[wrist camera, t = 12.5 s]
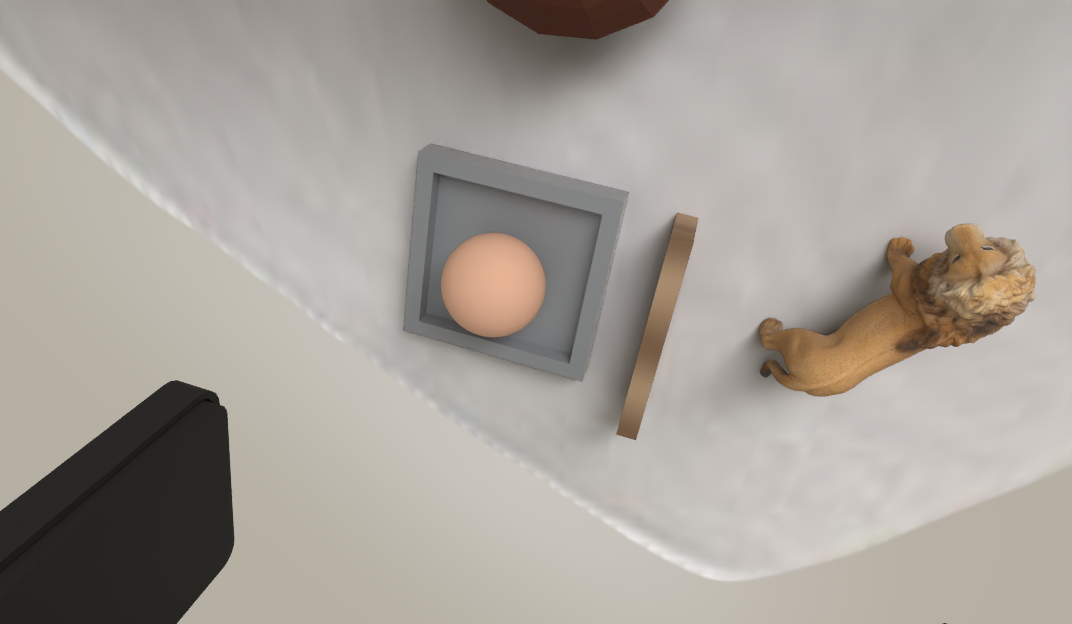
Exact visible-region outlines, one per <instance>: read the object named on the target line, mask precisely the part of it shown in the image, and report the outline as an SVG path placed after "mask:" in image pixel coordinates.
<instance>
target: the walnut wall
mask: <svg viewBox="0 0 1072 624" xmlns="http://www.w3.org/2000/svg"><path fill="white" fill-rule="evenodd" d="M697 222H698V218H696V217H692V216H688V215H684V214H680V213H677V215H676V219H675V223H674V226H673V230H672V233H671V237H670V240H669V244H668V248H667V251H666V255H665V259H664V262H663V266H662V270H661V273H660V277H659V281H658V284H657V288H656V292H655V295H654V299H653V302H652V306H651V310H650V313H649V317H648V321H647V324H646V328H645V332H644V335H643V339H642V343H641V346H640V350H639V354H638V357H637V361H636V365H635V368H634V372H633V375H632V379H631V383H630V386H629V390H628V394H627V397H626V401H625V405H624V408H623V412H622V416H621V419H620V423H619V427H618V430H617V435H620V436H623V437H627V438H630V439H634V440H636V438H637V434H638V431H639V427H640V424H641V421H642V417H643V414H644V410H645V407H646V404H647V400H648V397H649V393H650V390H651V386H652V383H653V380H654V376H655V373H656V369H657V366H658V362H659V359H660V356H661V352H662V349H663V345H664V342H665V338H666V335H667V332H668V328H669V325H670V321H671V318H672V314H673V311H674V308H675V304H676V301H677V297H678V294H679V291H680V287H681V284H682V280H683V277H684V273H685V270H686V267H687V263H688V260H689V256H690V253H691V249H692V246H693V242H694V237H695V232H696V227H697Z"/></svg>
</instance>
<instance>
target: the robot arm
mask: <svg viewBox="0 0 1072 624" xmlns="http://www.w3.org/2000/svg"><path fill="white" fill-rule="evenodd" d="M230 473H231V472H230V453H229V435H228V417H227V410H226V409H225V407H224V406H221V405H220V403H219V398H218V396H217V395H216V393H214V392H212V391H209V390H206V389H203V388H200V387H196V386H193V385H190V384H187V383H184V382H180V381H177V380H176V381H170V382H169V383H167V384H165V385H163V386H162V387H161V388H160V389H158V390H157V391H156V392H155V393H153V394H152V395H151V396H149V397H148V398H147V399H145V400H144V401H143V402H141V403H140V404H139V405H137V406H136V407H135V408H134V409H132V410H131V411H130V412H128V413H127V414H126V415H125V416H123V417H122V418H121V419H119V420H118V421H117V422H116V423H114V424H113V425H112V426H110V427H109V428H108V429H107V430H105V431H104V432H103V433H101V434H100V435H99V436H98V437H96V438H95V439H93V440H92V441H91V442H89V443H88V444H87V445H86V446H84V447H83V448H82V449H80V450H79V451H78V452H77V453H75V454H74V455H73V456H71V457H70V458H69V459H67V460H66V461H65V462H64V463H62V464H61V465H60V466H58V467H57V468H56V469H55V470H53V471H52V472H51V473H49V474H48V475H47V476H46V477H44V478H43V479H41V480H40V481H39V482H38V483H36V484H35V485H34V486H33V487H31V488H30V489H29V490H28V491H26V492H25V493H23V494H22V495H21V496H19V497H18V498H17V499H16V500H14V501H13V502H12V503H10V504H9V505H8V506H7V507H5V508H4V509H3V510H1V511H0V624H177V622H178V621H179V620H180V619H181V618H182V617H183V615H184V614H185V613H186V612H187V611H188V609H189V608H190V607H191V606H192V605H193V603H194V602H195V601H196V600H197V599H198V597H199V596H200V595H201V594H202V592H203V591H204V590H205V589H206V588H207V587H208V585H209V584H210V583H211V582H212V581H213V579H214V578H215V577H216V576H217V575H218V573H219V572H220V571H221V570H222V568H223V567H224V566H225V564H226V563H227V561H228V559H229V557H230V555H231V553H232V549H233V546H234V527H233V508H232V490H231V474H230ZM944 624H946V623H944Z"/></svg>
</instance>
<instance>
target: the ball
mask: <svg viewBox="0 0 1072 624" xmlns="http://www.w3.org/2000/svg"><path fill="white" fill-rule="evenodd" d="M545 290H546V280H545V273H544V270H543V267H542V264H541V262H540V260H539V259H538V257H537V255H536V254H535V253H534V251H533V250H532V249H531V248H530V247H529V246H528V245H526V244H525V243H524V242H522V241H521V240H519V239H517V238H515V237H513V236H510V235H507V234H502V233H484V234H479V235H477V236H474V237H471V238H469V239H468V240H466V241H464V242H463V243H462V244H460V245H459V246H458V247H457V248H456V249H455V250H454V251H453V252H452V254H451V255H450V257H449V258H448V260H447V262H446V264H445V266H444V269H443V273H442V279H441V291H442V297H443V301H444V304H445V306H446V308H447V310H448V312H449V313H450V315H451V316H452V317H453V319H454V320H455V321H456V322H457V323H458V324H459V325H460V326H462V327H463V328H464V329H466V330H468V331H470V332H472V333H474V334H477V335H480V336H484V337H503V336H507V335H511V334H513V333H515V332H518V331H519V330H521V329H523V328H524V327H525V326H527V325H528V324H529V323H530V322H531V321H532V320H533V319H534V318H535V316H536V315H537V313H538V312H539V310H540V308H541V306H542V303H543V301H544V297H545Z"/></svg>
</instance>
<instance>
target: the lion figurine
mask: <svg viewBox="0 0 1072 624" xmlns="http://www.w3.org/2000/svg"><path fill="white" fill-rule="evenodd" d="M945 242H946V244H947V246H948V249H947V250H946V251H944V252H942V253H935V254H933V255H932V257H930V258H928V259H926V260H924V261H922V262H921V263H920V264H917V263H916V262H914V261H913V260H912V259H910V258H909V257H910V256H911V255H912V253H913V252H914V247H913V245H912V241H911V240H910V239H906V238H903V237H900V238H893V239H892V240H891V242H890V244H889V247H888V252H887V258H888V260H889V265H890V267H891V268H892V282H891V285H890V288H891V290H892V293H891V294H889V295H887V296H885V297H883V298H881V299H879V300H877V301H875V302H873V303H871V304H869V305H868V306H866V307H865V308H863V309H862V310H860V311H859V312H857V313H856V314H855V315H853V316H852V317H851V318H849V319H848V320H847V321H846V322H845V323H844V324H843V325H842V326H841V327H840V328H839V329H838V330H837V331H836V332H834V333H832V334H831V335H821V334H818V333H816V332H813V331H810V330H806V329H799V328H792V329H787V330H783V331H782V322H781V321H778V320H777V319H775V318H768V319H766V320H764V321H763V322H762V324H761V326H760V330H759V334H760V339H761V342H762V345H763V347H764V348H765V349H766V350H771V349H774V350H777V351H779V352H781V354H782V355H783V357H784V360H785V364H786V366H787V368H788V370H789V371H790V373H789V374H788V373H787V372H786V371H785V370H784V369H783V368H782V367H781V366H780V365H779V363H778V362H777V361H775V360H769V361H768V362H766V363H764V364H763V366H762V368H761V371H760V373H761V375H762V376H763V377H765V378H766V377H768V376H769V375H770V374H771V373H772V374H773V376H774V377H775V379H776V380H777V381H778V382H779V383H780V384H782V385H783V386H785V387H787V388H789V389H792V390H796V391H805V392H806V393H808V394H810V395H813V396H830V395H836V394H841V393H844V392H846V391H848V390H850V389H852V388H853V387H855V386H856V385H857V384H859V383H860V382H861V381H863V380H864V379H866V378H867V377H869V376H871V375H873V374H874V373H876V372H879V371H881V370H883V369H885V368H887V367H889V366H891V365H894V364H896V363H898V362H900V361H902V360H904V359H907V358H909V357H911V356H913V355H915V354H917V353H918V352H921V351H923V350H925V349H932V348H935V347H937V346H942V347H948V346H950V345H952V346H954V347H958V346H960V345H961V344H964V343H974V342H975V341H977V340H978V339H980V338H982V337H985V336H987V335H990V334H993V333H995V332H997V331H998V330H1000V329H1001V328H1002V327H1003V326H1007V325H1009V324H1011V323H1012V322H1013V321H1014V318H1015V316H1017V315H1020V314H1021V313H1023V312H1024V311H1025V309H1026V306H1027V305H1028V303H1029V302H1030V301H1033V300H1034V299H1035V294H1034V292H1033V290H1034V288H1035V276H1034V273H1035V268H1034V267H1033V266H1031V265H1030V264H1029V263H1028V262H1027V261H1026V259H1025V253H1024V250H1023V249H1022V248H1021V247H1020V245H1019V243H1018V242H1017V241H1016V240H1011V239H1006V238H993V237H988V238H985V237H984V235H983V232H982V230H981V228H980V227H979V226H978V225H976V224H971V223H970V224H960V225H957V226H954V227H953V228H952V229H950V230H948V231H947V232H946V234H945Z"/></svg>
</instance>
